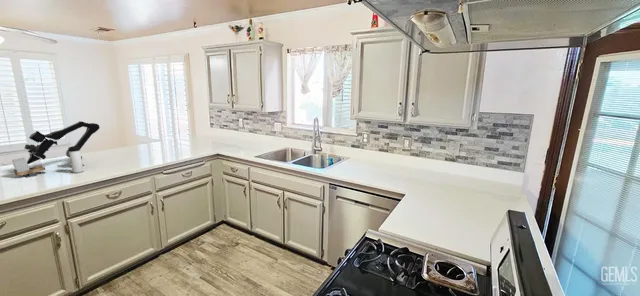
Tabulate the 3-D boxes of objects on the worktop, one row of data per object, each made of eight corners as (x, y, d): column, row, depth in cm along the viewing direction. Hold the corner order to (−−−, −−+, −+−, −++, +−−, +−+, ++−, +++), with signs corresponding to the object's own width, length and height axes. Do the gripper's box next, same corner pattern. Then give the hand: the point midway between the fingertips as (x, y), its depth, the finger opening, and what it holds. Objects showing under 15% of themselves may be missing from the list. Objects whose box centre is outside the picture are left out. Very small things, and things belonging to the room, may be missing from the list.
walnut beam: (42, 168, 210) (41, 164, 209) (45, 170, 206) (44, 165, 205) (15, 174, 199) (13, 169, 198) (18, 176, 194) (16, 171, 193)
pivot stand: (42, 171, 212) (41, 168, 211) (47, 173, 206) (46, 170, 205) (16, 175, 200) (15, 172, 200) (20, 178, 194) (19, 175, 194)
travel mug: (86, 171, 213) (81, 145, 209) (78, 173, 207) (73, 147, 203) (78, 170, 214) (74, 145, 210) (70, 173, 207) (65, 147, 203)
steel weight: (27, 169, 203) (23, 157, 200) (29, 170, 200) (26, 158, 197) (15, 172, 198) (11, 159, 196) (18, 173, 195) (14, 161, 192)
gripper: (28, 138, 206) (10, 156, 199) (36, 141, 196) (17, 159, 189) (45, 147, 214) (28, 164, 207) (53, 150, 204) (35, 168, 197)
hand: (27, 163), depth 200 cm, fingers closed, pressing on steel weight
